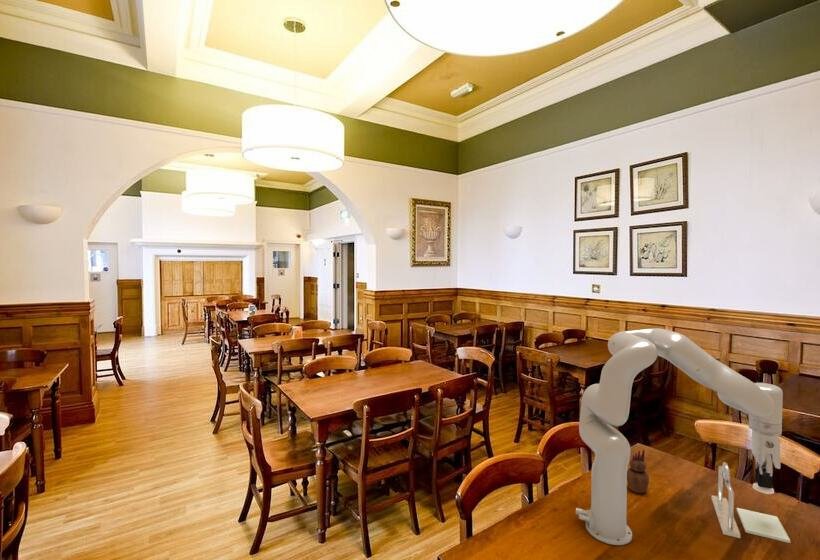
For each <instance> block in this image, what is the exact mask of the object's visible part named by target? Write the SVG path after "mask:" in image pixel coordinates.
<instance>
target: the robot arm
mask: <svg viewBox="0 0 820 560" xmlns="http://www.w3.org/2000/svg"><path fill="white" fill-rule="evenodd" d="M607 349H608V351H609V353H610V354H611V355H612V356H611V357H610V358H609V359H608V360H607V361H606V362H605V363H604V365H603V366H602V369H601V372H600V373H601V374H600V378H599V383H594V384H591V385H589V386H587V388H585V390H584V392H583V394H582V396H581V402H580V412H579V423H578V424H579V425H578V429H579V430H578V431H579V436H580V438H581V440H582V441H583V442H584V443H585V444H586V446H588V447H589V449H590V450H591V451H592V452H593V453H594V460H593V463H592V465H591V481H590V482H591V492H590V493H591V494H590V495H591V497H590V499H591V501H590V504H591V505H590V509H587V510H585V509H583V508H580V507H576V508H575V515H576V516H578V519H579V520H582V521H585V529H586V531H587V532H588V533H589V534H590V536H592V537H593V538H595V539H596V540H598V541H599V542H603V543H604V544H608V545H613V546H623V545H627V544H629V543H630V542H632V539H633V531H632V530H631V527H629V525H628V524H627V512H628V511H627V509H628V508H627V504H628V503H627V501H628V500H627V497H628V494H627V493H628V489H627V488H628V482H627V470H628V469H629V468H628V467H629V464H630V460H631V459H630V458H631V451H632V450H631V445H630V442H629V441H628V439H627V438H626V437H625V436H624V435H623V433H621V432H620V431H619V430H618V429H616V427H621V426H623V425H625V423H627V421H628V419H629V414H630V410H631V409H630V408H631V397H632V387H633V383H634V379H635V378H636V377H637V375H638V374H639V373H641V372H642V371H643V370H645V369H647V368H648V367H650V366H651V365H653V364H654V363H655V361H656V360H657V358H658V357H661V358H663V359H665V360H667V361H668V362H670V363H671V364H672V365H674V366H675V367H676V368H678V369H679V370H681V371H682V372H683V373H685V375H687V376H688V377H689V378H691V379H692V380H693V381H694V382H697V383H698V384H700V385H702V386H704V387H706V388H708V389H710V390H712V391H714V392H715V393H716V394H717V397H718V399H719V400H720V401H721V402H722V403H723V404H725V405H727V406H729V407H731V408H732V409H733V408H734V410H738V411H741V412H742V413H744V414H747V415H748V428H749V429H750V430H751V445H750V446H751V453H752V456H753V457H754V459H755V469H754V481H755V483H758V486H760V487H764V488H770V489H771V488H773V467H774V468H775V469H777V470H780V469H781V446H780V445H781V444H780V437H779V436H781V435H782V430H783V428H782V427H783V401H784V399H783V397H784V395H783V390H782V388H781V387H779V386H777V385H775V384H770V383H766V382H754V381H751V379H749V378H747V377H746V376H743V375H742V374H740V373H739V372H738V371H735V370H733V369H732V368H730V367H729V365H728V366H727V365H726V364H724V363H722V362H721V361H719V360H717V359H716V358H714V357H713V356H712V355H711V354H710V353H708V352H707V351H705V350H704V349H702V348H701V347H700V346H699V345H697V343H694V341H692V340H691V339H690V338H688V337H687V336H686V335H684V334H681V333H679V332H676V331H673V330H669V329H666V328H662V327H660V328H658V327H654V328H653V327H652V328H644V329H636V330H635V329H633V330H624V331H619V332H616V333H614V334H613V335H611V336H610V337H609V339H608V341H607ZM763 463H766V464H763ZM763 467H766V468H763Z"/></svg>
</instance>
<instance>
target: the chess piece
mask: <svg viewBox="0 0 820 560" xmlns="http://www.w3.org/2000/svg"><path fill="white" fill-rule="evenodd" d="M763 464H766V463H763ZM763 468H766V467H763ZM752 488H753V489H754V490H755V491H756V492H759V493H761V494H766V495H773V494H775V489H774V488H773V487H772V488H771V489H770V488H764V487H760V486H758V482H754V483H753V484H752Z"/></svg>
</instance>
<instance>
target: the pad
mask: <svg viewBox="0 0 820 560" xmlns="http://www.w3.org/2000/svg"><path fill="white" fill-rule="evenodd" d="M736 512H737V515H738V517H739V520H740V522H741V525H742V527H743V530H744V532H745V533H747V534H751V535H754V536H759V537H764V538H768V539H772V540H774V541H775V540H776V541H780V542H784V543H787V544H791V539H790V537H789V535H788V533H787V532H786V529H785V528H784V526H783V524H782V523H781V521H780V519H779V518H778V516H776V515H771V514H768V513H767V514H766V513H762V512H758V511H753V510H749V509H745V508H739V507H736Z"/></svg>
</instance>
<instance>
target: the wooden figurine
mask: <svg viewBox="0 0 820 560" xmlns="http://www.w3.org/2000/svg"><path fill="white" fill-rule="evenodd" d="M637 452H638V453H635V455H634V454H632V458H631V459H629V466H630V467H629V468H627V487H629V489H630V490H631V491H632V492H633V493H637V494H645V493H646V492H647V491H648V489H649V483H650V476H649V474H648V472H647V471H646V469H647V464H646V462H645V449H643V450H642V453H641V452H640V450H638V451H637Z"/></svg>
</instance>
